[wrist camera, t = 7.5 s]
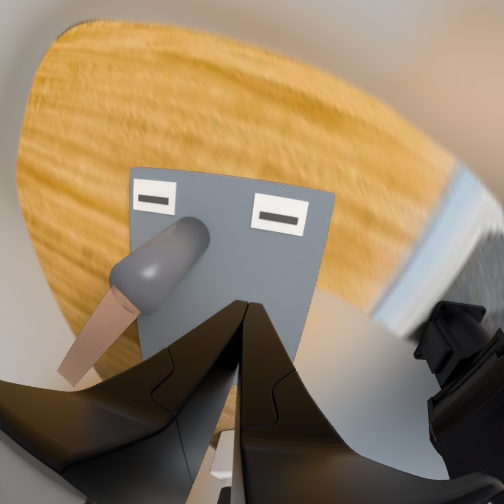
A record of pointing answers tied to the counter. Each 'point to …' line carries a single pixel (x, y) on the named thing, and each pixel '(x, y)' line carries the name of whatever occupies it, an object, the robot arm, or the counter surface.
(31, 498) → the robot arm
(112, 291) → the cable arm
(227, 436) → the medicine bottle
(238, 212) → the label board
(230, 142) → the counter surface
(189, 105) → the counter surface
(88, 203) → the counter surface
